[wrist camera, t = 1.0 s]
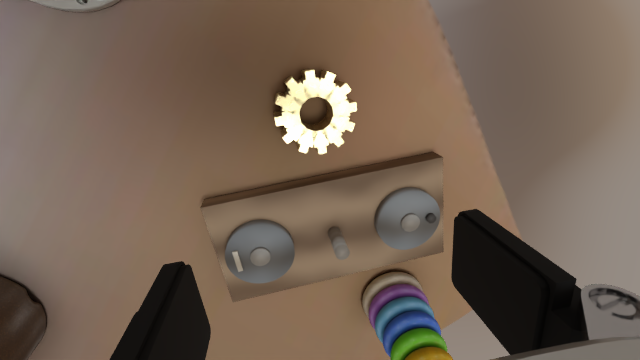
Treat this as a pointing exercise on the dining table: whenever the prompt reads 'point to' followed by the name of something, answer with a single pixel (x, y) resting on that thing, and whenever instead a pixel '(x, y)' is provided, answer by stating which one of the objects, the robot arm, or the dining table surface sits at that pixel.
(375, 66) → the dining table surface
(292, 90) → the brass gear
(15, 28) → the dining table surface
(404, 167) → the gear board
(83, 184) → the dining table surface
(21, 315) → the plant pot
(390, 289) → the stacking toy
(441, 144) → the dining table surface
